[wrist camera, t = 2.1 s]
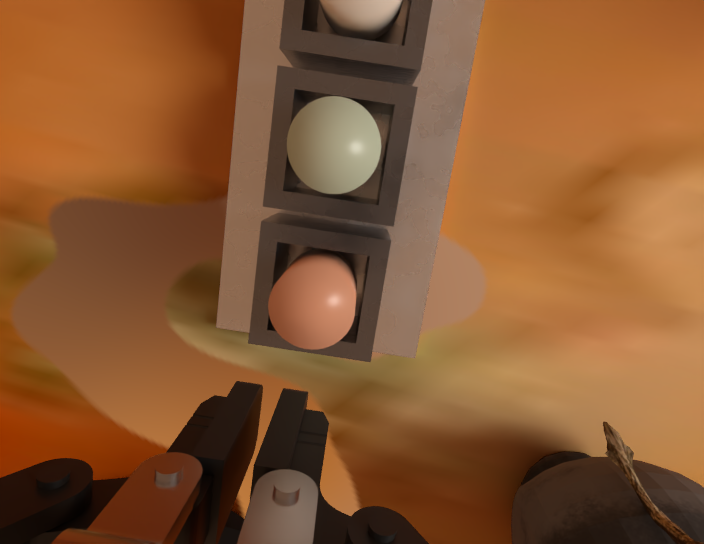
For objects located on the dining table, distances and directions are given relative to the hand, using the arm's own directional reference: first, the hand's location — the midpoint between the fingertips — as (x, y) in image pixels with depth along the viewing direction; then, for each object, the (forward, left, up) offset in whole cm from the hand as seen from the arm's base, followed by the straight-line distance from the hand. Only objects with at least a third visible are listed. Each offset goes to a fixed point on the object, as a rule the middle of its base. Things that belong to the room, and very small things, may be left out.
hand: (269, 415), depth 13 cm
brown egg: (0, 0, -15) cm, 15 cm away
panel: (0, -8, -19) cm, 21 cm away
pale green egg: (0, -8, -15) cm, 17 cm away
